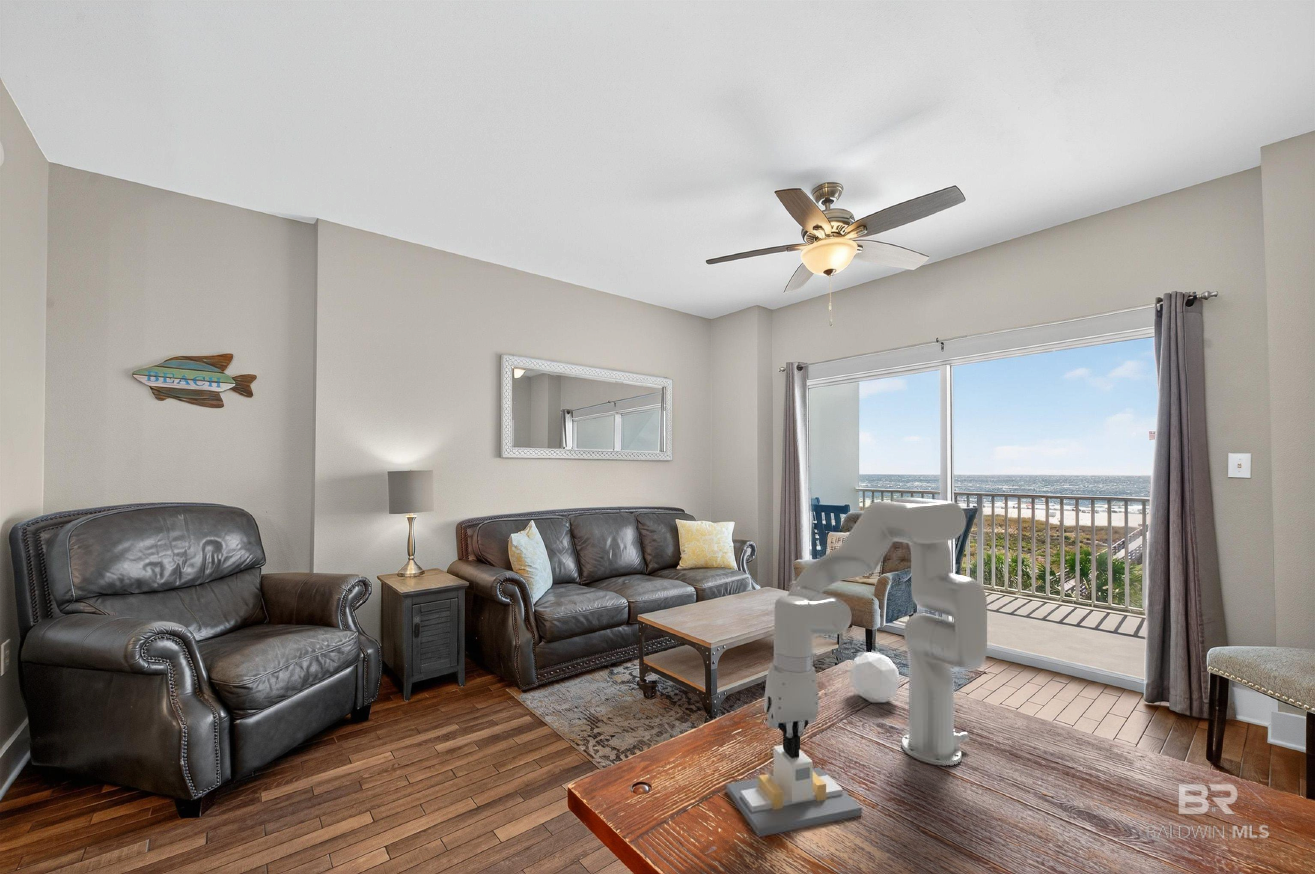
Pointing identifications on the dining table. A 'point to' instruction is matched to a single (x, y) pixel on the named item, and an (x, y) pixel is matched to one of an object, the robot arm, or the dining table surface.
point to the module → (793, 774)
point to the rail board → (791, 804)
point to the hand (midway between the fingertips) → (791, 753)
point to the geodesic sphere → (874, 676)
